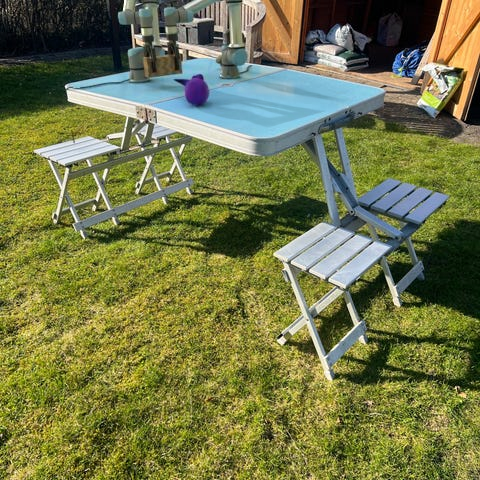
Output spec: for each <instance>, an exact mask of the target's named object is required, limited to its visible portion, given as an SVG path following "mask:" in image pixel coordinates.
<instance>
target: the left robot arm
mask: <svg viewBox="0 0 480 480" xmlns="http://www.w3.org/2000/svg"><path fill="white" fill-rule="evenodd" d="M123 1H124V3H123V9H122V11H119V12H118V13H117V14H118V15H117V17H118V22H119V24H120V25H140V33H141V40H142V42H143V44H142V46H138V47H132V48H130V49H128V50H127V56H128V57H127V58H128V64H129V65H128V66H129V76H128V79H125V80H121V81H113V82H112V81H110V82H103V83H102V82H101V83H96V84H93V85H87V86H86V85H85V86H79V87H80V88H73V87H74V86H68V87H66V88H65V91H69V89H74V90H78V89H81V90H82V89H87V88H93V87H98V86H102V85H103V86H104V85H110V84H111V85H112V84H122V83H125V82H129V83H133V84H141V83H148V82H150V79H151V78H148V77H146V76H145V71H144V63H143V58H144V57H151V60H152V61H151V64H152V73H156V72H157V71H156V61H157V59H156V56H162V55H166V51H165V50H166V49H165V48H163V45H162V44H161V39H160V26H159V15H158V14H159V12H158V8H159V7H160V4H161V3H162V0H123ZM139 4H140V5H142V7H143V8H140V9H139V10H138V11H136V5H139ZM73 131H74V130H73V129H71V130H70V132H71V137H72V141H73V144H76V141H75V136H74V132H73Z"/></svg>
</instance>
